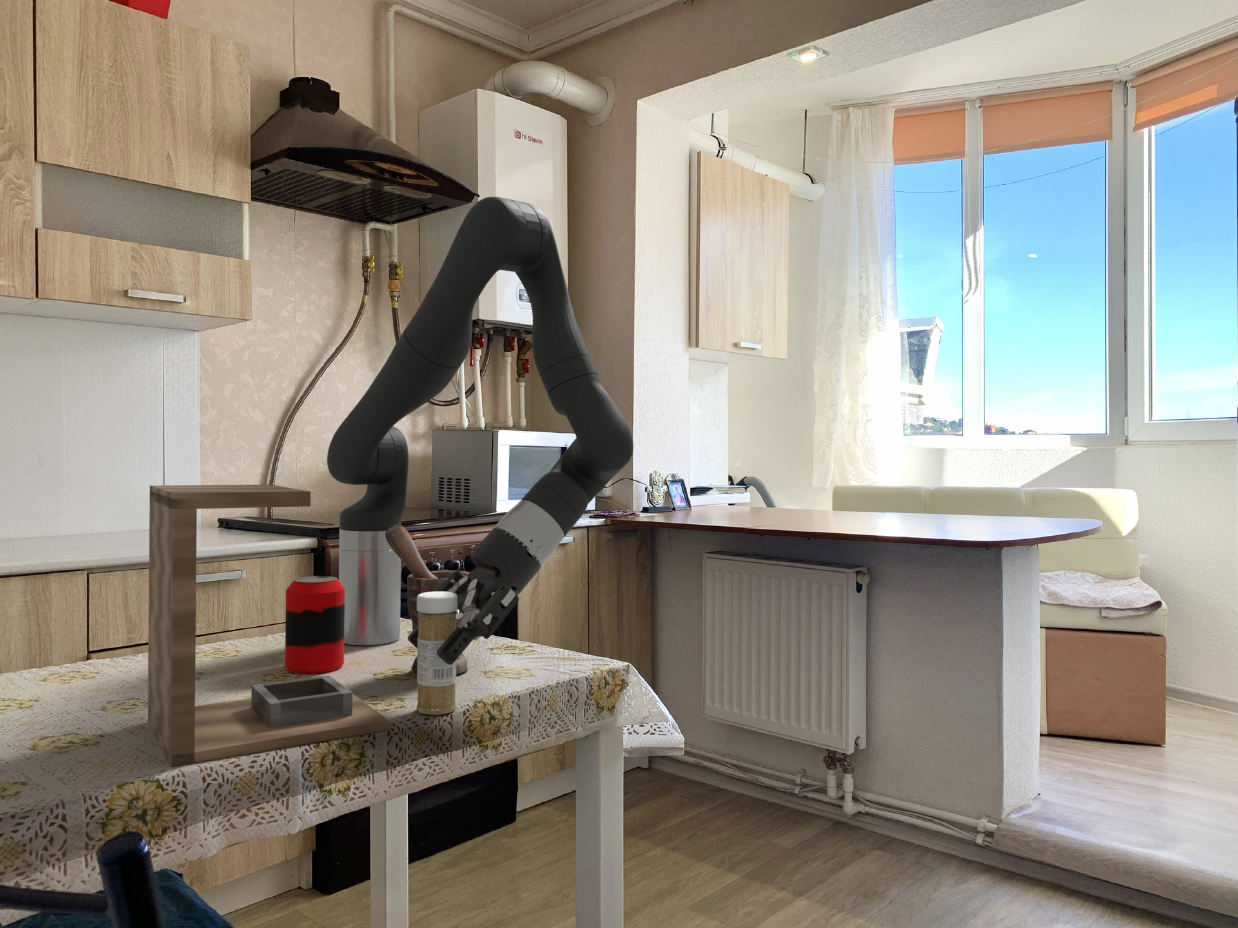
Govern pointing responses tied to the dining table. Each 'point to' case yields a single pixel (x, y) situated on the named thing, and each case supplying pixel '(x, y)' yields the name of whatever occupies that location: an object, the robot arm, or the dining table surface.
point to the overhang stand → (172, 715)
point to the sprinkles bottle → (435, 652)
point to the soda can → (314, 625)
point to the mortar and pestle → (419, 580)
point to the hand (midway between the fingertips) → (427, 652)
